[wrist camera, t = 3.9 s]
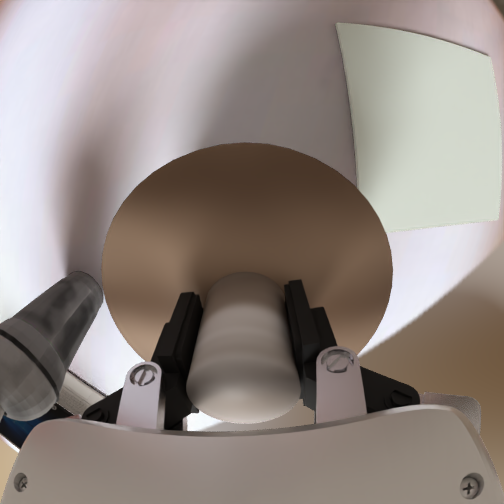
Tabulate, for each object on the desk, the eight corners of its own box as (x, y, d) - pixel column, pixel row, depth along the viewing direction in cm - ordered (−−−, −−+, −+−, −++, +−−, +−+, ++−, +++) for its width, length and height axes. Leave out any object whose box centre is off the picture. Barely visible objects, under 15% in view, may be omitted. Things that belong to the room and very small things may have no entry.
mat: (335, 24, 15) (336, 22, 14) (487, 57, 14) (490, 57, 13) (358, 233, 21) (359, 236, 21) (495, 218, 20) (498, 219, 20)
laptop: (126, 405, 32) (99, 482, 20) (102, 428, 35) (81, 487, 23) (22, 329, 27) (-27, 391, 15) (18, 367, 31) (-17, 419, 19)
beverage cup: (51, 252, 22) (-86, 387, 4) (111, 264, 23) (-29, 451, 4) (63, 313, 25) (-32, 450, 7) (119, 328, 25) (34, 500, 7)
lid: (78, 178, 11) (-13, 219, 6) (385, 132, 10) (481, 144, 5) (158, 388, 17) (138, 462, 11) (369, 368, 16) (398, 443, 10)
